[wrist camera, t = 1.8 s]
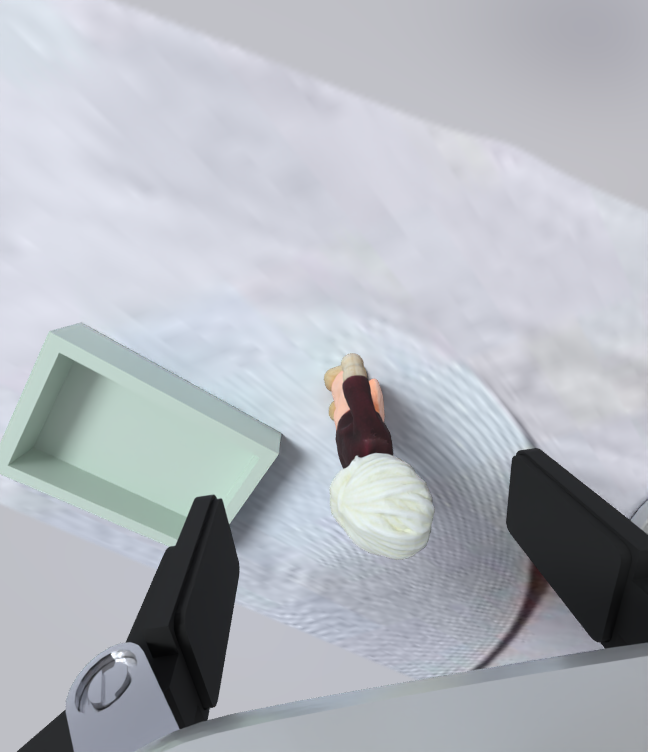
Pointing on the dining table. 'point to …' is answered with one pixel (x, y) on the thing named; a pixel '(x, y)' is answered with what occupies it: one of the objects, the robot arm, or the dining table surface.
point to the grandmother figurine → (373, 471)
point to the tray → (129, 437)
